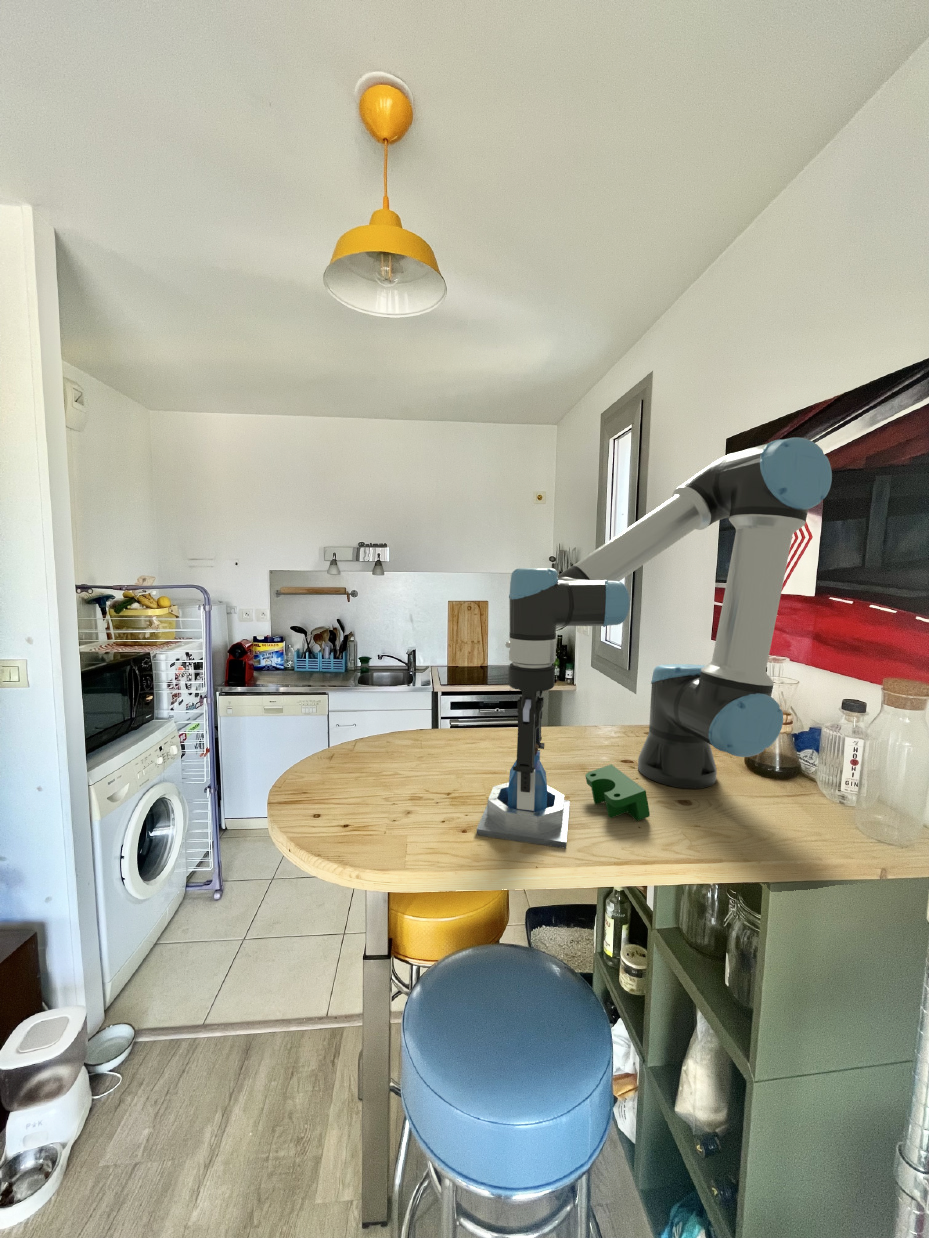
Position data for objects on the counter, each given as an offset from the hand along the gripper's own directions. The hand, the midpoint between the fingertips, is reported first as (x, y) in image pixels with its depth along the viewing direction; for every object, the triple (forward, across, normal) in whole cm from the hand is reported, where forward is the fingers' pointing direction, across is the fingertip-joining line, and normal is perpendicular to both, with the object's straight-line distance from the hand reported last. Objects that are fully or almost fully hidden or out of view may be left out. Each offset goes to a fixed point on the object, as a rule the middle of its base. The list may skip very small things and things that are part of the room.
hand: (528, 796), depth 86 cm
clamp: (+5, -8, +14) cm, 17 cm away
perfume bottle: (+3, 0, 0) cm, 3 cm away
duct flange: (+4, 0, 0) cm, 4 cm away
